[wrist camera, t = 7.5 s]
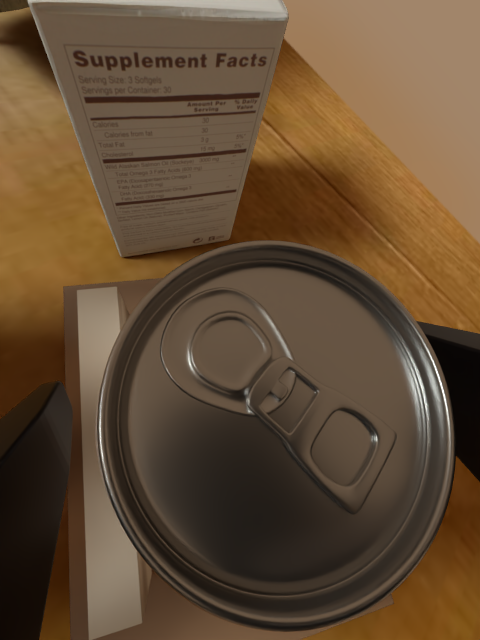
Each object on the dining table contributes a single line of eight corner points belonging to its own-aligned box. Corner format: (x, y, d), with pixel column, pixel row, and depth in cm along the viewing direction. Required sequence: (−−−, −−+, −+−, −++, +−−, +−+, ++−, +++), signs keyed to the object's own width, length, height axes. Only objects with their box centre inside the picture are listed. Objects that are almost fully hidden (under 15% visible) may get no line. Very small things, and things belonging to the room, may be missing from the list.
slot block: (378, 590, 16) (457, 656, 11) (82, 700, 13) (27, 852, 8) (295, 274, 21) (327, 233, 16) (70, 295, 18) (33, 251, 13)
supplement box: (98, 167, 21) (-7, -166, 9) (204, 158, 23) (231, -127, 11) (117, 262, 19) (15, -5, 7) (232, 244, 21) (299, 8, 9)
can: (207, 332, 17) (257, 161, 6) (297, 408, 17) (530, 374, 6) (119, 427, 15) (-61, 433, 4) (221, 519, 14) (360, 838, 3)
